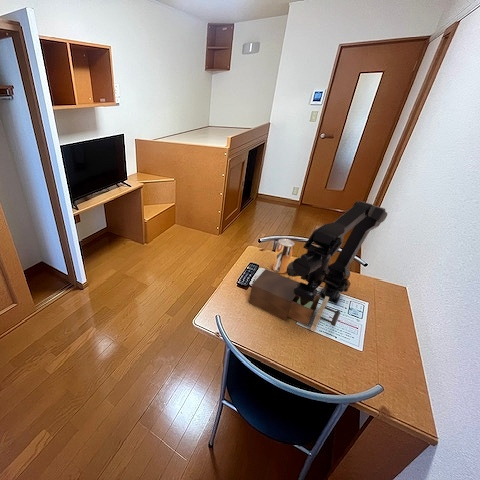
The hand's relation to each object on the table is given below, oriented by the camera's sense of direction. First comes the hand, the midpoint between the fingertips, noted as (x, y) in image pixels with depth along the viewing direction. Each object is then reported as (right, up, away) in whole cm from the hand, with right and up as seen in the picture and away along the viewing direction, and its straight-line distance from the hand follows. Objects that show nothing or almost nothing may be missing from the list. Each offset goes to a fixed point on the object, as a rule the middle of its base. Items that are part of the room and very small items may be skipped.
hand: (306, 298), depth 93 cm
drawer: (+2, -7, +3) cm, 8 cm away
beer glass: (+4, +7, +28) cm, 30 cm away
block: (0, -5, +3) cm, 6 cm away
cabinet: (-7, -4, +11) cm, 14 cm away
